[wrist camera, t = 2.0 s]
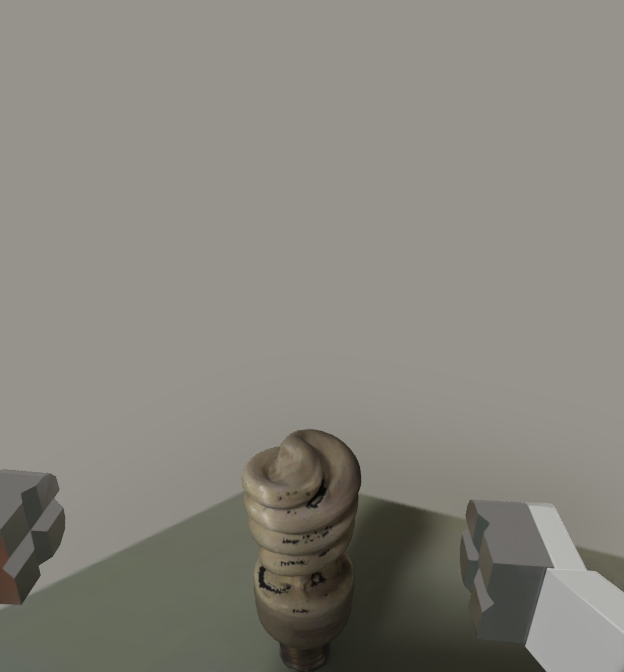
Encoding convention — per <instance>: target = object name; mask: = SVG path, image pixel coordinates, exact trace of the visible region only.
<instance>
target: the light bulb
mask: <svg viewBox="0 0 624 672" xmlns="http://www.w3.org/2000/svg"><path fill="white" fill-rule="evenodd" d="M241 480H242V486H243V489H244V490H245V495H244V504H245V508H246V511H247V512H248V514H249V520H248V523H249V529H250V533H251V535H252V537H253V539H254V540H255V541H256V543H258V544H259V545H260V546H261V547H260V550H259V558H258V560H257V562H256V565H255V569H254V576H253V577H254V594H255V601H256V607H257V612H258V616H259V619H260V621H261V624H262V625H263V627H264V628H265V630H266V631H267V632H268V633H269V634H270V635H271V636H272V637H273V638H274V639H275V640H276V641H278V642H280V656H281V658H282V661H283V663H284V664H285V665H286V666H287V667H288V668H293V669H295V670H297V671H299V672H309V671H314V670H316V669H317V668H319V667H320V666H322V665H324V663H325V662H326V660H327V658H328V656H329V651H330V641H331V640H333V639H334V638H335V637H336V636H337V635H339V633H340V632H341V631H342V629H343V628H344V626H345V625H346V623H347V620H348V617H349V615H350V612H351V605H352V596H353V590H354V569H353V564H352V562H351V560H350V558H349V557H348V555H347V554H346V553H345V552H344V551H345V550H346V548H347V547H348V545H349V543H350V541H351V538H352V535H353V530H354V524H355V516H356V513H357V509H358V492H359V490H360V486H361V472H360V466H359V463H358V460H357V459H356V457H355V455H354V454H353V452H352V451H351V450H350V448H349V447H348V446H347V445H346V444H345V443H344V442H342V441H341V440H340V439H338V438H336V437H335V436H333V435H331V434H328V433H326V432H323V431H319V430H314V429H308V430H298V431H295V432H293V433H291V434H290V435H289V436H287V437H286V439H285V440H284V441H283V442H282V443H281V446H280V447H274V448H271V449H267V450H265V451H263V452H260V453H258V454H256V455H255V456H254V457H253V458H251V459H250V461H249V462H248V463H247V464H246V466H245V468H244V470H243V474H242V478H241Z"/></svg>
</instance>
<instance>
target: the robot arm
mask: <svg viewBox="0 0 624 672" xmlns="http://www.w3.org/2000/svg"><path fill="white" fill-rule="evenodd" d="M58 492H59V486H58V482H57V479H56V476H54V475H52V474H49V473H39V472H27V471H16V470H4V469H3V470H0V604H11V605H22V603H23V602H24V600H25V599H26V597H27V596H28V594H29V593H30V591H31V589H32V588H33V586H34V585H35V583H36V582H37V580H38V579H39V577H40V569H39V565H40V564H42V563H43V562H45V561H47V560H48V559H50V558H51V557H53V555H54V554H55V552H56V550H57V549H58V547H59V545H60V543H61V540H62V537H63V533H64V530H65V514H64V509H63V507H62V506H61V505H60V504H59V503H58V502H57V501H56V500H55V499H54V497H55V496H56V494H57V493H58ZM466 520H467V524H468V527H469V528H468V529H467V530H466V531H465V532H464V533H463V534H462V539H461V545H460V566H461V574H462V578H463V583H464V586H465V587H466V588H467V589H468V590H469V591H470V592H471V598H470V603H469V609H470V613H471V617H472V621H473V625H474V629H475V634H476V638H477V639H482V640H491V641H501V642H511V643H521V644H526V645H525V647H526V648H527V649H528V650H529V651H530V653H531V654H532V655H533V656H534V657H535V659H536V660H537V661H538V662H539V663H540V665H541V666H542V667H543V668H544V669H545V671H546V672H624V592H622V591H621V590H620V589H618V588H617V587H616V586H614V585H613V584H612V583H610V582H609V581H608V580H607V579H605V578H604V577H603V576H601V575H600V574H599V573H597V572H596V571H587V569H586V567H585V565H584V563H583V561H582V559H581V557H580V555H579V553H578V551H577V549H576V547H575V545H574V543H573V541H572V539H571V537H570V535H569V534H568V531H567V530H566V528H565V526H564V524H563V522H562V520H561V518H560V516H559V514H558V512H557V510H556V508H555V507H554V506H553V505H552V504H551V503H533V502H523V503H519V502H503V501H483V500H470V501H469V503H468V506H467V511H466Z"/></svg>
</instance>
